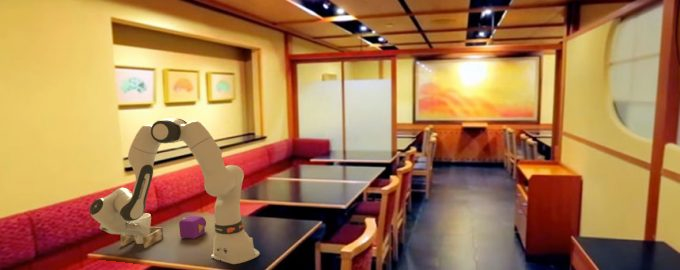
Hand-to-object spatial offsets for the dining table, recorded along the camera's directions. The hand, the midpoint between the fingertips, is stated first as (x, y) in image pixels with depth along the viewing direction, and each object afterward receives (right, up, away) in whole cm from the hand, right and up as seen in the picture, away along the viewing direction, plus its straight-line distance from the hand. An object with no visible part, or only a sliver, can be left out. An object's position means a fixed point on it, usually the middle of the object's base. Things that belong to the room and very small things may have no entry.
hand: (134, 235), depth 203 cm
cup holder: (+2, -4, +5) cm, 7 cm away
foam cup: (+1, -4, +6) cm, 7 cm away
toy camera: (+25, -3, +12) cm, 28 cm away
